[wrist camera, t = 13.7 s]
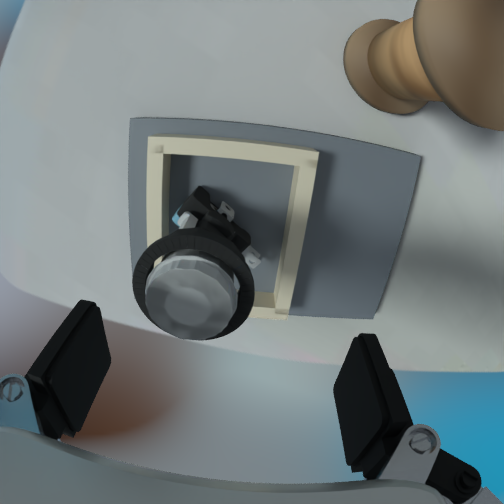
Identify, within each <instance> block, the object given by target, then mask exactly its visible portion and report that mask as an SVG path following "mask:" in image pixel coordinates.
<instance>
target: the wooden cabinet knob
mask: <svg viewBox="0 0 504 504" xmlns="http://www.w3.org/2000/svg"><path fill="white" fill-rule="evenodd" d="M343 61H344V68H345V73H346V75H347V78H348V80H349V82H350V84H351V86H352V88H353V89H354V91H355V92H356V93H357V94H358V96H359V97H360V98H361V99H362V100H364V101H365V102H366V103H367V104H369V105H370V106H372V107H374V108H376V109H378V110H381V111H384V112H388V113H397V114H406V113H411V112H414V111H417V110H419V109H420V108H422V107H423V106H424V105H426V104H427V103H428V101H441V102H444V103H445V104H446V105H447V106H448V107H449V109H451V110H452V111H453V112H454V113H455V114H456V115H457V116H459V117H460V118H462V119H463V120H465V121H467V122H469V123H470V124H473V125H476V126H479V127H483V128H488V129H492V130H498V131H504V0H417V2H416V5H415V9H414V14H413V17H412V18H410V19H408V20H405V21H403V22H401V23H400V22H398V21H394V20H389V19H379V20H373V21H370V22H368V23H366V24H364V25H363V26H361V27H360V28H358V29H357V30H355V31H354V32H353V33H352V35H351V36H350V37H349V39H348V41H347V43H346V46H345V49H344V58H343Z"/></svg>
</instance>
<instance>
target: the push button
mask: <svg viewBox="0 0 504 504" xmlns="http://www.w3.org/2000/svg"><path fill="white" fill-rule="evenodd" d="M226 207H227V208H228V209H229V210H228V209H227V208H226ZM233 217H234V210H233V209H232V208H231V207H230V206H229V205H227V204H226V203H225V202H224V201H222V202H221V205H220V208H218V207H216V206H215V205H214V204H213V203H212V202H211V201H210V194H209V193H208V192H207V191H206V190H205V189H204V188H203V187H201V186H198V187H197V188H196V189H195V190H194V191H193V192H192V194H191V195H190V196H189V197H188V198H187V199H186V200H185V201H184V203H183V204H182V205H181V206H180V207H179V208H178V210H177V211H176V213H175V214H174V216H173V218H172V220H173V222H174V223H175V224H176V225H178V226H179V229H177V230H175V231H174V232H173V233H171V234H170V235H167V236H165V237H162V238H160V239H158V240H157V241H155V242H154V243H152V244H151V245H150V246H149V247H148V248H147V249H146V250H145V251H144V252H143V254H142V255H141V257H140V258H139V260H138V261H137V264H136V266H135V269H134V272H133V280H132V284H133V292H134V295H135V299H136V301H137V303H138V305H139V307H140V309H141V310H142V312H143V313H144V314H145V315H146V317H147V318H148V319H149V320H150V321H151V322H152V323H154V324H155V325H156V326H157V327H159V328H160V329H162V330H163V331H165V332H167V333H169V334H171V335H173V336H176V337H178V338H180V339H189V340H210V339H215V338H219V337H222V336H225V335H227V334H229V333H231V332H233V331H234V330H236V329H237V328H238V327H239V326H241V325H242V324H243V322H244V321H245V320H246V319H247V317H248V316H249V314H250V312H251V310H252V307H253V304H254V297H255V286H254V279H253V276H252V273H251V270H250V268H249V266H250V267H251V268H252V269H254V268H255V267H256V266H258V265H259V264H260V263H261V260H260V259H258V258H259V257H260V254H259V253H258V252H257V251H256V250H255V249H253V248H252V247H251V246H250V245H251V236H250V235H249V233H248V232H247V231H245V230H244V229H242V228H241V227H239V226H238V225H237V224H236V223H235V222H234V221H232V220H233ZM251 252H253V253H255V255H254V254H252V253H251ZM164 254H165V255H164ZM162 255H164V257H163V259H162V261H161V262H160V263H159V264H158V265H156V266H155V268H154V263H155V261H156V260H157V259H158V258H159V257H161V256H162ZM249 260H250V261H252V262H254V263H250V262H249ZM247 264H248V265H249V266H248V265H247ZM234 274H235V276H236V278H237V280H238V282H239V285H240V288H239V290H238V292H237V290H236V288H235V286H234Z"/></svg>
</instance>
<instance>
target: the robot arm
mask: <svg viewBox="0 0 504 504" xmlns="http://www.w3.org/2000/svg"><path fill="white" fill-rule="evenodd" d="M110 364H111V356H110V352H109V348H108V343H107V340H106V335H105V331H104V326H103V321H102V316H101V311H100V308H99V307H97V305H96V303H95V302H91V301H86V300H80V301H79V302H78V303H77V304H76V306H75V307H74V308H73V310H72V311H71V312H70V313H69V315H68V316H67V317H66V319H65V320H64V321H63V323H62V324H61V326H60V327H59V328H58V329H57V331H56V332H55V333H54V335H53V336H52V338H51V339H50V340H49V342H48V343H47V345H46V346H45V347H44V349H43V350H42V352H41V353H40V355H39V356H38V358H37V359H36V361H35V362H34V363H33V365H32V366H31V368H30V369H29V371H28V372H27V374H26V375H25V377H23V376H21V375H18V374H8V375H6V376H4V377H2V378H1V379H0V504H503V503H502V502H501V501H500V500H499V499H498V498H497V497H496V496H495V495H494V494H493V493H492V492H491V491H490V490H489V489H488V488H487V487H484V488H482V487H481V477H480V474H479V472H478V471H477V470H476V469H475V468H474V467H472V466H471V465H468V464H467V463H465V462H463V461H461V460H459V459H458V458H456V457H454V456H453V455H451V454H449V453H447V452H446V451H444V450H442V449H440V445H441V443H440V438H439V436H438V434H437V433H436V431H435V430H434V429H432V428H431V427H429V426H427V425H424V424H417V425H413V422H412V419H411V416H410V414H409V411H408V408H407V406H406V403H405V400H404V397H403V395H402V392H401V390H400V387H399V384H398V382H397V379H396V377H395V374H394V372H393V370H392V369H391V368H389V365H388V363H387V360H386V358H385V355H384V353H383V350H382V348H381V346H380V343H379V341H378V338H377V336H376V335H375V334H366V333H361V334H359V335H358V337H354V339H353V341H352V343H351V346H350V348H349V351H348V353H347V356H346V358H345V361H344V363H343V365H342V368H341V370H340V372H339V375H338V377H337V379H336V382H335V384H334V389H333V391H334V392H333V393H334V398H335V403H336V408H337V413H338V419H339V424H340V429H341V435H342V440H343V446H344V452H345V458H346V463H347V465H348V466H351V470H352V473H353V472H362V471H363V476H364V477H365V478H364V480H362V481H349V482H335V483H313V484H312V483H311V484H310V483H309V484H271V483H251V482H237V481H226V480H216V479H208V478H201V477H194V476H188V475H181V474H176V473H171V472H165V471H160V470H155V469H151V468H147V467H142V466H138V465H134V464H130V463H126V462H122V461H119V460H115V459H112V458H108V457H105V456H102V455H98V454H95V453H92V452H89V451H86V450H83V449H80V448H77V447H74V446H71V445H68V444H65V443H63V442H61V441H60V438H61V435H62V434H65V435H68V436H70V437H74V435H75V433H76V431H77V432H79V431H80V430H81V428H82V426H83V423H84V421H85V419H86V417H87V414H88V412H89V410H90V408H91V405H92V403H93V401H94V399H95V397H96V394H97V392H98V390H99V388H100V386H101V384H102V381H103V379H104V377H105V375H106V373H107V371H108V369H109V367H110Z"/></svg>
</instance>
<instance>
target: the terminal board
mask: <svg viewBox="0 0 504 504" xmlns="http://www.w3.org/2000/svg"><path fill="white" fill-rule="evenodd" d="M420 159H421V156H418V155H416V154H413V153H409V152H405V151H401V150H397V149H393V148H389V147H385V146H381V145H377V144H372V143H368V142H363V141H359V140H354V139H349V138H344V137H339V136H334V135H328V134H322V133H317V132H311V131H304V130H298V129H291V128H284V127H277V126H269V125H260V124H251V123H241V122H230V121H218V120H203V119H184V118H130V129H129V160H128V197H129V229H130V248H131V263H132V275H133V272H134V269H135V266H136V264H137V261H138V260H139V258H140V257H141V255H142V254H143V252H144V251H145V250H146V249H147V248H148V247H149V246H150V245H151V244H152V243H154V242H155V241H157V240H158V239H160V238H162V237H165V236H167V235H170V234H171V233H173V232H174V231H175V230H177V229H179V226H178V225H176V224H175V223H174V222H173V220H172V218H173V216H174V214H175V213H176V211H177V210H178V208H179V207H180V206H181V205H182V204H183V203H184V201H185V200H186V199H187V198H188V197H189V196H190V195H191V194H192V192H193V191H194V190H195V189H196V188H197V187H198V186H201V187H203V188H204V189H205V190H206V191H207V192H208V193H209V194H210V201H211V202H212V203H213V204H214V205H215V206H216V207H218V208H220V205H221V202H222V201H224V202H225V203H226V204H227V205H229V206H230V207H231V208H232V209H233V210H234V217H233V220H232V221H234V222H235V223H236V224H237V225H238V226H239V227H241V228H242V229H244V230H245V231H247V232H248V233H249V235H250V236H251V245H250V246H251V247H252V248H253V249H255V250H256V251H257V252H258V253H259V254H260V257H259V258H258V259H260V260H261V263H260V264H259V265H258V266H256V267H255V268H254V269H252V268H251V267H250V266H249V265H248V264H247V265H248V266H249V268H250V270H251V273H252V276H253V279H254V286H255V297H254V304H253V307H252V310H251V312H250V314H249V316H248V317H251V318H263V319H276V320H287V318H288V315H296V316H312V317H330V318H352V319H373V318H374V315H375V313H376V310H377V307H378V305H379V302H380V299H381V297H382V294H383V291H384V288H385V285H386V283H387V280H388V277H389V274H390V271H391V268H392V265H393V262H394V258H395V255H396V252H397V249H398V246H399V242H400V239H401V236H402V232H403V229H404V225H405V221H406V218H407V214H408V210H409V207H410V203H411V199H412V195H413V191H414V186H415V182H416V178H417V173H418V169H419V164H420ZM226 208H227V207H226ZM227 209H228V208H227ZM228 210H229V209H228ZM251 253H252V254H254V255H255V253H253V252H251ZM164 255H165V254H164ZM164 255H162V256H161V257H159V258H158V259H157V260H156V261H155V263H154V268H155V266H156V265H158V264H159V263H160V262H161V261H162V259H163V257H164ZM249 262H250V263H254V262H252V261H250V260H249ZM234 286H235V288H236V290H237V292H238V290H239V288H240V285H239V282H238V280H237V278H236V276H235V274H234ZM134 296H135V295H134Z"/></svg>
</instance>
